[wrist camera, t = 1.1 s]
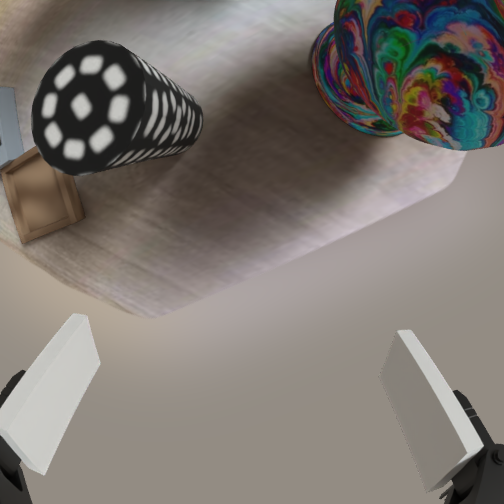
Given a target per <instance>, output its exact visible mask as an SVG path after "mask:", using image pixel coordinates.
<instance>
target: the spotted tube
mask: <svg viewBox="0 0 504 504" xmlns="http://www.w3.org/2000/svg"><path fill="white" fill-rule="evenodd" d="M202 126H203V113H202V110H201V107H200V105H199V103H198V101H197V100H196V99H195V98H194V97H193V96H192V95H190V94H189V93H188V92H186V91H185V90H184V89H182V88H181V87H180V86H178V85H177V84H176V83H174V82H173V81H172V80H170V79H169V78H168V77H166V76H165V75H164V74H162V73H161V72H159V71H158V70H157V69H155V68H154V67H152V66H151V65H150V64H148V63H147V62H145V61H144V60H142V59H141V58H139V57H138V56H137V55H135V54H134V53H132V52H131V51H129V50H128V49H126V48H125V47H123V46H122V45H120V44H117V43H114V42H111V41H102V40H97V41H91V42H86V43H83V44H81V45H78V46H76V47H74V48H72V49H71V50H69V51H67V52H66V53H64V54H63V55H62V56H61V57H60V58H59V59H57V60H56V61H55V62H54V64H53V65H52V66H51V67H50V68H49V69H48V71H47V72H46V74H45V75H44V77H43V79H42V80H41V82H40V84H39V87H38V89H37V91H36V94H35V98H34V101H33V105H32V114H31V127H32V134H33V138H34V142H35V144H36V147H37V149H38V152H39V153H40V155H41V156H42V157H43V159H44V160H45V161H46V162H47V163H48V164H49V165H50V166H51V167H52V168H54V169H56V170H57V171H59V172H61V173H64V174H68V175H72V176H83V175H88V174H93V173H97V172H101V171H105V170H109V169H113V168H117V167H121V166H125V165H129V164H134V163H138V162H143V161H147V160H152V159H157V158H162V157H167V156H172V155H176V154H179V153H182V152H184V151H185V150H187V149H188V148H190V147H191V146H192V145H193V144H194V143H195V141H196V140H197V139H198V137H199V135H200V133H201V130H202Z"/></svg>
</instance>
